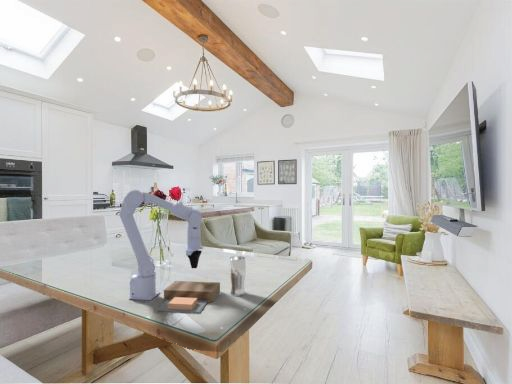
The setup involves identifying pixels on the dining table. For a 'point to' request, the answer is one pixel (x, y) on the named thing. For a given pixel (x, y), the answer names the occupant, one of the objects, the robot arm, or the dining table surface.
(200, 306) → the mat
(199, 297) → the brown wooden block
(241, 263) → the beer glass
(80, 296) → the dining table surface
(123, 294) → the dining table surface
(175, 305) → the tile
